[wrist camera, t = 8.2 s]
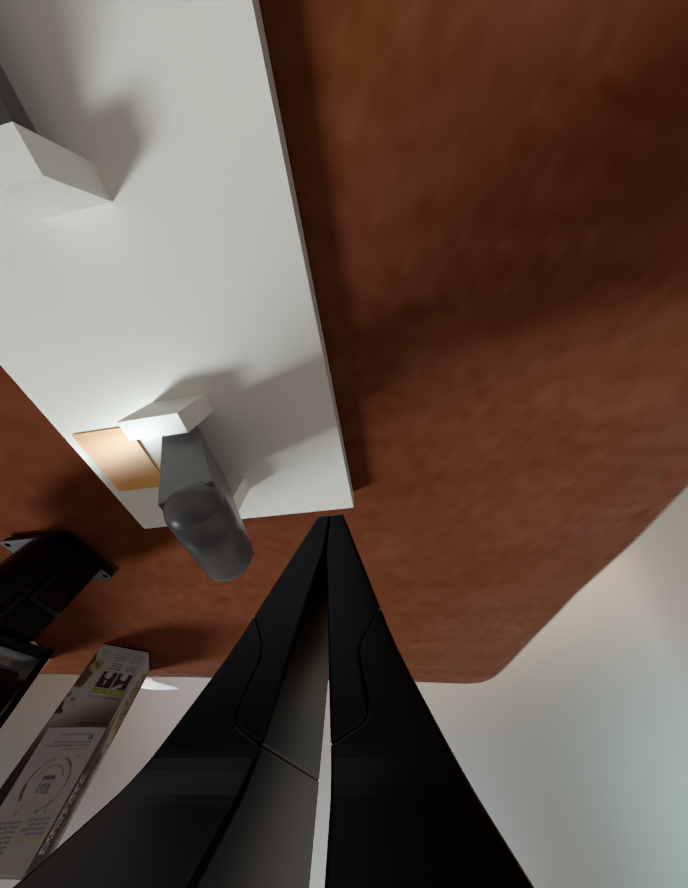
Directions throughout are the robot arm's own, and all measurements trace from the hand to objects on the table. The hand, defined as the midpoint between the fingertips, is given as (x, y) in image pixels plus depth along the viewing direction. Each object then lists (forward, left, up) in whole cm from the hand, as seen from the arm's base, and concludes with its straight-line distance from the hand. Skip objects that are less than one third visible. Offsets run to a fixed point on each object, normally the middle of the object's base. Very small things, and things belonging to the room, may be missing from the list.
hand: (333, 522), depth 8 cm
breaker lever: (-8, 0, -5) cm, 10 cm away
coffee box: (-38, -34, -8) cm, 52 cm away
